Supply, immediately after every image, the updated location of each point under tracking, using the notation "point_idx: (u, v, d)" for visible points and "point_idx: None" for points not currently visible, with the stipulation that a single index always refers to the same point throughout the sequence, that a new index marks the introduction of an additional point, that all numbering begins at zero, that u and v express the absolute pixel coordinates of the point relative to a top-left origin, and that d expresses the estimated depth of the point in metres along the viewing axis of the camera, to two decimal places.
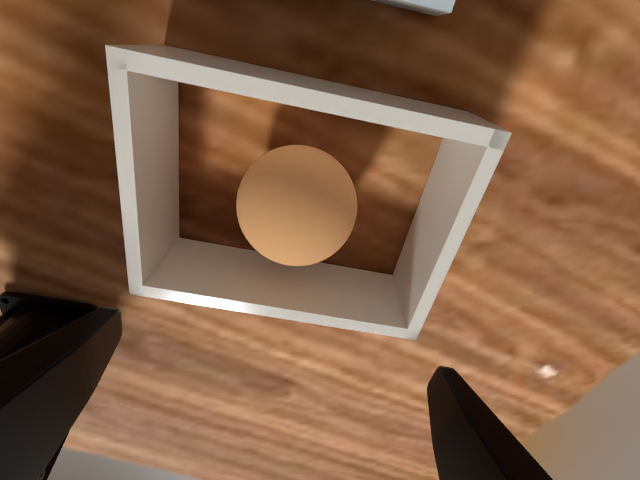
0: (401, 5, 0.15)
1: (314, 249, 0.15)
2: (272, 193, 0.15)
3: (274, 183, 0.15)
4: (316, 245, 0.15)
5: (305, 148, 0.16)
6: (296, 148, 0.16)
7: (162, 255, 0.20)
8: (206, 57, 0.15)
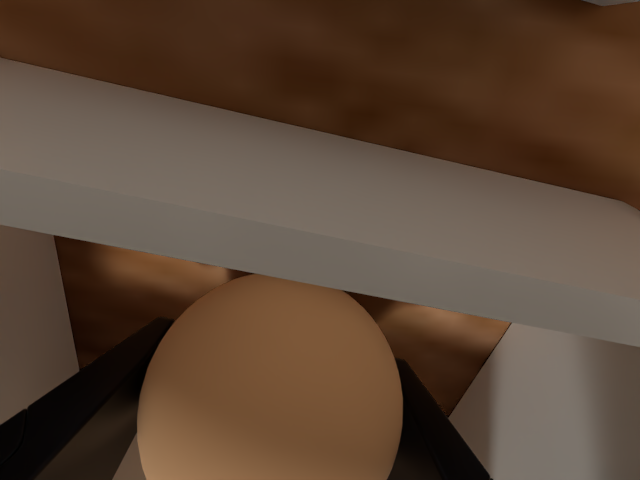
0: None
1: None
2: (201, 459, 0.06)
3: (208, 428, 0.06)
4: None
5: (293, 305, 0.07)
6: (271, 307, 0.07)
7: None
8: (57, 90, 0.06)
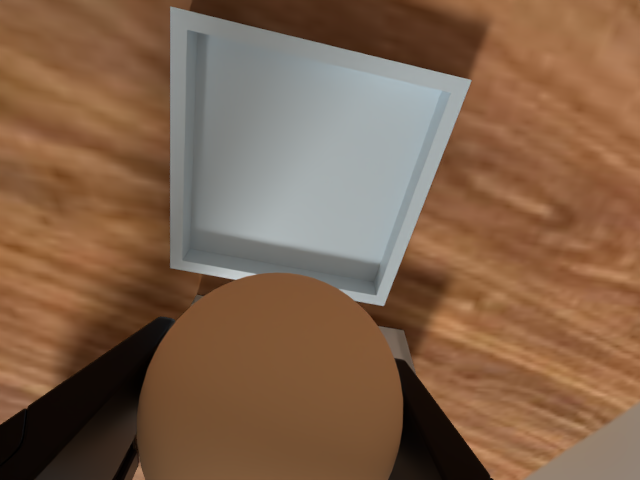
0: None
1: None
2: (200, 461, 0.06)
3: (207, 430, 0.06)
4: None
5: (293, 306, 0.07)
6: (271, 308, 0.07)
7: None
8: None
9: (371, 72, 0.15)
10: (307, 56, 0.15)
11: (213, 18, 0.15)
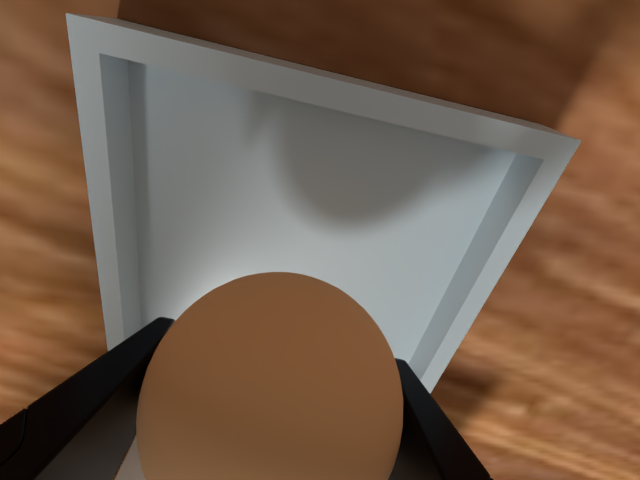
0: None
1: None
2: (201, 460, 0.05)
3: (207, 430, 0.06)
4: None
5: (293, 305, 0.07)
6: (271, 307, 0.07)
7: None
8: None
9: (414, 126, 0.09)
10: (307, 99, 0.09)
11: (143, 34, 0.08)
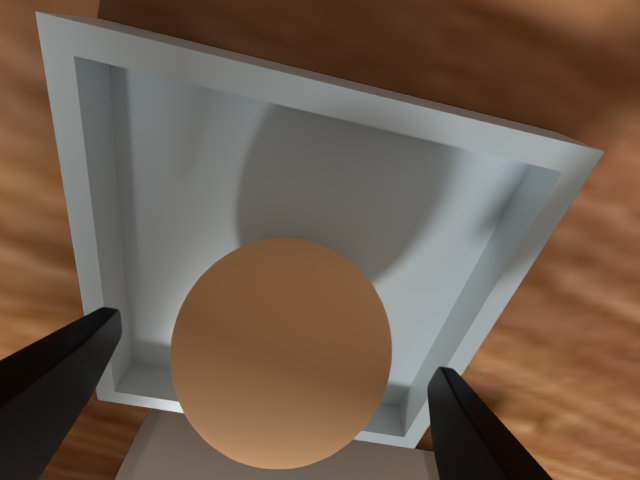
0: None
1: (313, 460, 0.08)
2: (229, 372, 0.07)
3: (233, 349, 0.07)
4: (317, 457, 0.08)
5: (300, 258, 0.08)
6: (282, 259, 0.08)
7: None
8: (188, 446, 0.17)
9: (421, 136, 0.08)
10: (303, 106, 0.08)
11: (121, 35, 0.08)
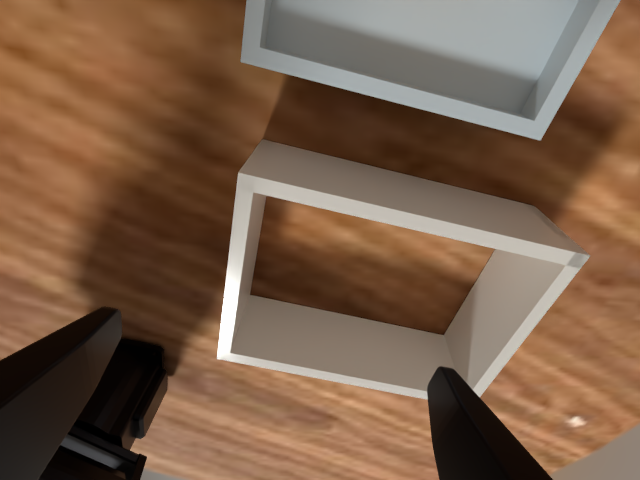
0: None
1: None
2: None
3: None
4: None
5: None
6: None
7: (241, 318, 0.21)
8: (307, 160, 0.17)
9: None
10: None
11: None
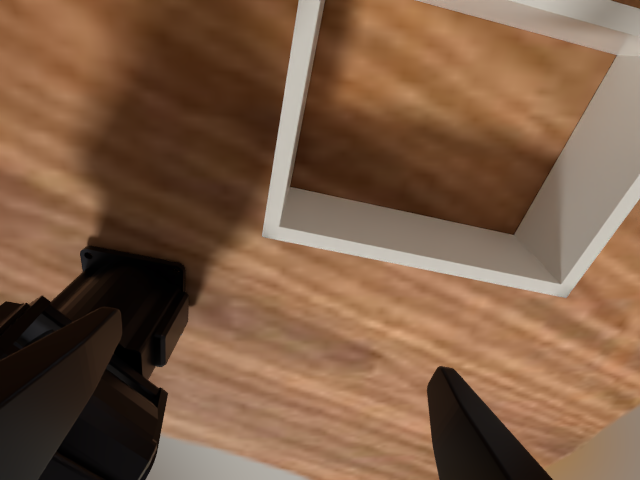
0: None
1: None
2: None
3: None
4: None
5: None
6: None
7: None
8: None
9: None
10: None
11: None
